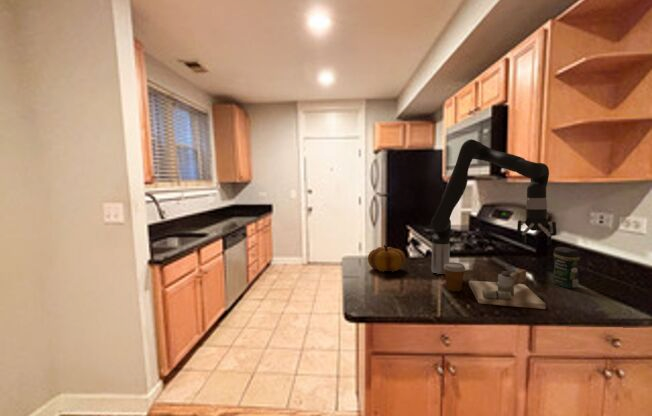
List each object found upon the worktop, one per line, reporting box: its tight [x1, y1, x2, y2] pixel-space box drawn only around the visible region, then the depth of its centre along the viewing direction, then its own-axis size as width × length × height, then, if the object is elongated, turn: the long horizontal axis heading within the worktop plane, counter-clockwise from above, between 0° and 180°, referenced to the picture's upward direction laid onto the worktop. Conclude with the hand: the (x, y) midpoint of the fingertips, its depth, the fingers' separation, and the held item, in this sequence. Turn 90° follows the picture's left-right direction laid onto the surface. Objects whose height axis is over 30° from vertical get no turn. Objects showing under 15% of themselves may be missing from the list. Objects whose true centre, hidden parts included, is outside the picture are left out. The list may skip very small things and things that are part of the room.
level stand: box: [468, 280, 547, 310], centre depth 132 cm, size 24×24×5 cm
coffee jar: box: [552, 246, 581, 289], centre depth 142 cm, size 10×8×19 cm
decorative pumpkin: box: [367, 244, 406, 273], centre depth 174 cm, size 20×22×15 cm
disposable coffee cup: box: [444, 261, 466, 292], centre depth 140 cm, size 10×10×12 cm
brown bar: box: [497, 268, 527, 296], centre depth 131 cm, size 19×6×10 cm, turn 123°
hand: (536, 243), depth 131 cm, fingers open, 8 cm apart
